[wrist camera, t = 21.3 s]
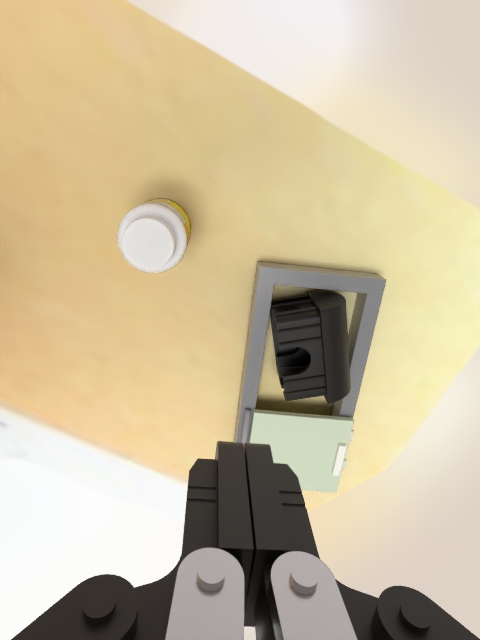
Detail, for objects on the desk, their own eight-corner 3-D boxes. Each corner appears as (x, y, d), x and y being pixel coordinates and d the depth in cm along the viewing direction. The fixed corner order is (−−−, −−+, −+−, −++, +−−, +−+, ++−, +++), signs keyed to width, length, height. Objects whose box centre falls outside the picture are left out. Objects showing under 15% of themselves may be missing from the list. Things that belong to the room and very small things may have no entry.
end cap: (339, 369, 47) (359, 400, 41) (278, 378, 47) (288, 411, 41) (333, 285, 44) (354, 305, 38) (267, 295, 44) (276, 317, 38)
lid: (235, 480, 49) (235, 489, 47) (245, 408, 45) (245, 415, 44) (335, 488, 49) (337, 496, 48) (352, 417, 46) (355, 424, 45)
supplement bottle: (165, 266, 42) (150, 295, 33) (122, 226, 41) (93, 244, 31) (203, 227, 41) (200, 245, 31) (161, 184, 39) (144, 190, 30)
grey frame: (230, 466, 51) (230, 480, 49) (257, 261, 42) (259, 266, 40) (335, 472, 52) (341, 486, 50) (382, 274, 44) (392, 280, 41)
